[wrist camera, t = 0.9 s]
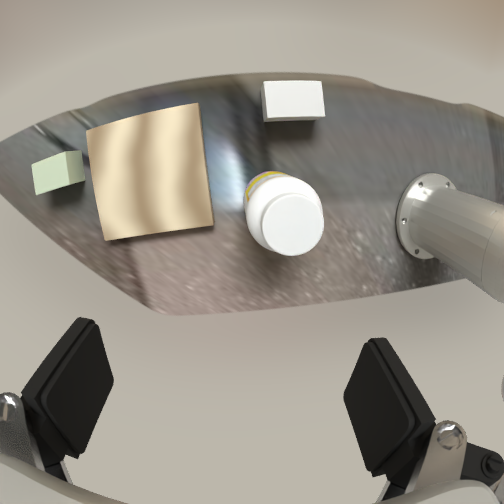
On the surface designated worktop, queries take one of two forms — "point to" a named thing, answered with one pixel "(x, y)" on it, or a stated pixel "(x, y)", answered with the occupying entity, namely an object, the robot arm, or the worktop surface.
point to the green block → (58, 171)
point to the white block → (292, 100)
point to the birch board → (151, 173)
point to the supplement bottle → (283, 213)
